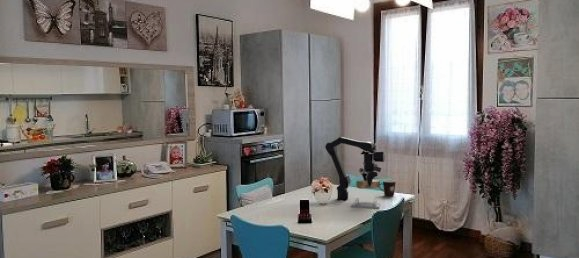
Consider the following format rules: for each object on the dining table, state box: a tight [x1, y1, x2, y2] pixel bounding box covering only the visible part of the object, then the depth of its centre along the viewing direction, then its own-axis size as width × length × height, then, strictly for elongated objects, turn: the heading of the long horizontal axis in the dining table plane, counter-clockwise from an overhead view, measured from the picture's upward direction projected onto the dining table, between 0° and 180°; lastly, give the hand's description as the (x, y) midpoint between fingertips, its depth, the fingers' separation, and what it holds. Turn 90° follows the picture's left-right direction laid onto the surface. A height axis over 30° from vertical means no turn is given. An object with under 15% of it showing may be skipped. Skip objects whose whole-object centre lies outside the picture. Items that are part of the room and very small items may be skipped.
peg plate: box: [350, 197, 381, 210], centre depth 281 cm, size 17×10×4 cm, turn 75°
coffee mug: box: [379, 179, 397, 197], centre depth 310 cm, size 12×9×10 cm
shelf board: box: [355, 179, 381, 189], centre depth 293 cm, size 14×6×4 cm, turn 104°
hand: (368, 185), depth 293 cm, fingers closed on shelf board, 6 cm apart
